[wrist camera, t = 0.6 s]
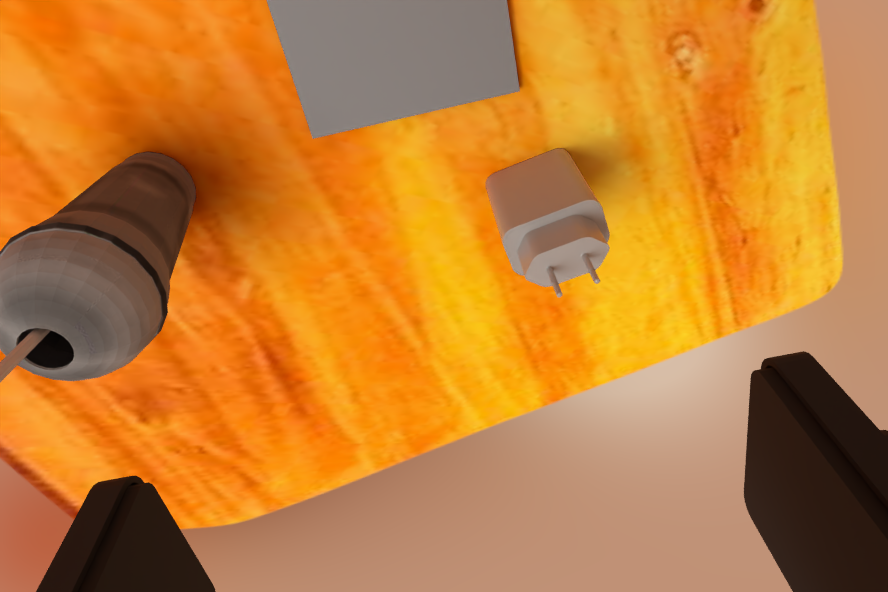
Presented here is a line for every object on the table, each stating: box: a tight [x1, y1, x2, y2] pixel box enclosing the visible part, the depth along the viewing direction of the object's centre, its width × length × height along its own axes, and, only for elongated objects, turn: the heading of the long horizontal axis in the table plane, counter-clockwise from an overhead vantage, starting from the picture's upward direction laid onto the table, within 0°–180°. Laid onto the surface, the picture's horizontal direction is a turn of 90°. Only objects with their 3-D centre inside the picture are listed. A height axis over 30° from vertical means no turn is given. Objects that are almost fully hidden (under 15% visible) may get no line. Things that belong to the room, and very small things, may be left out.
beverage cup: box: [0, 152, 196, 382], centre depth 31 cm, size 7×7×20 cm
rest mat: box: [267, 0, 520, 138], centre depth 34 cm, size 12×12×1 cm
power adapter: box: [486, 148, 609, 297], centre depth 36 cm, size 3×5×12 cm, turn 112°
